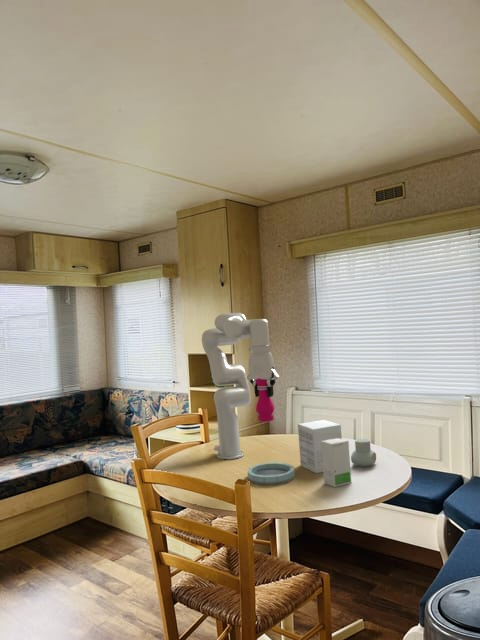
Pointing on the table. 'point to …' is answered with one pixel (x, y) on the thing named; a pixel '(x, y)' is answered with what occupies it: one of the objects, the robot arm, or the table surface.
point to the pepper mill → (264, 402)
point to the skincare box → (336, 462)
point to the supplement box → (315, 442)
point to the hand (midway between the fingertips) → (264, 395)
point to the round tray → (271, 473)
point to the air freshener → (363, 454)
